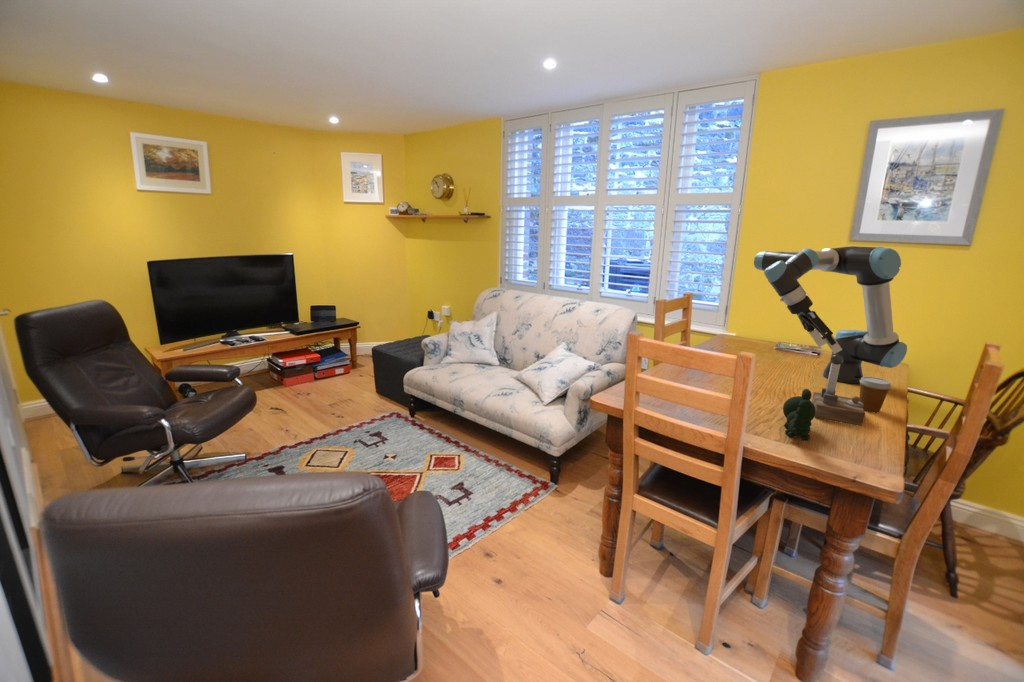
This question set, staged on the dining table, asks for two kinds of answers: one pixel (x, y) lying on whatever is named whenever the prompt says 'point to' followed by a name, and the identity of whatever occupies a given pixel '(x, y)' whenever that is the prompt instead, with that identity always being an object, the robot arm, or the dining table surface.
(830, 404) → the base
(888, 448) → the dining table surface
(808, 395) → the toy figurine
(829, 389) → the lever
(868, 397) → the disposable coffee cup
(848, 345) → the robot arm
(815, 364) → the dining table surface
